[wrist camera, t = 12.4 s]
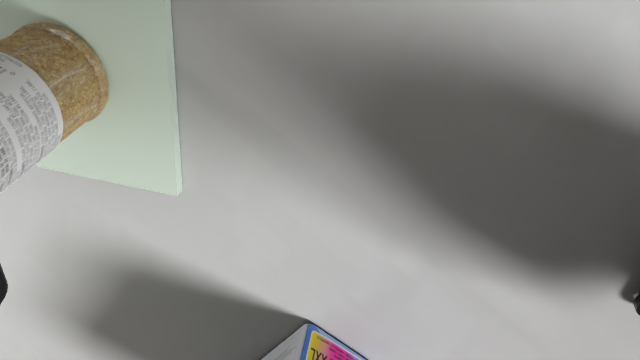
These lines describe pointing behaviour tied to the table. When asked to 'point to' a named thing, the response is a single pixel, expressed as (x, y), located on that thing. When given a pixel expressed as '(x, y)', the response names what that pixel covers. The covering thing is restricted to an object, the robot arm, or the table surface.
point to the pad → (118, 90)
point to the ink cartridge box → (311, 347)
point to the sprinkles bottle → (44, 94)
